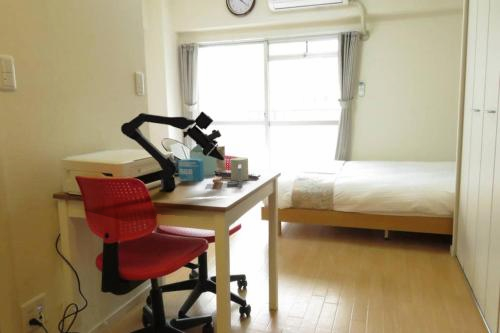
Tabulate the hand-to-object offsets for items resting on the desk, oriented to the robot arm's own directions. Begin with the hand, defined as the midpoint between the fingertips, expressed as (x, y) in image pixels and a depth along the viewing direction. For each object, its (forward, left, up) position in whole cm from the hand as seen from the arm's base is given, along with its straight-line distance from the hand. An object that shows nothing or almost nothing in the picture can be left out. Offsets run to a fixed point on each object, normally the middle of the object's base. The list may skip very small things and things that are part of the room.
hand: (223, 159), depth 181 cm
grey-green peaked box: (-33, +18, -14) cm, 40 cm away
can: (-4, +16, -14) cm, 22 cm away
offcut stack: (-3, -2, -13) cm, 13 cm away
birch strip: (-1, -1, -6) cm, 6 cm away
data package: (-25, +2, -14) cm, 29 cm away
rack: (0, 0, -14) cm, 14 cm away
